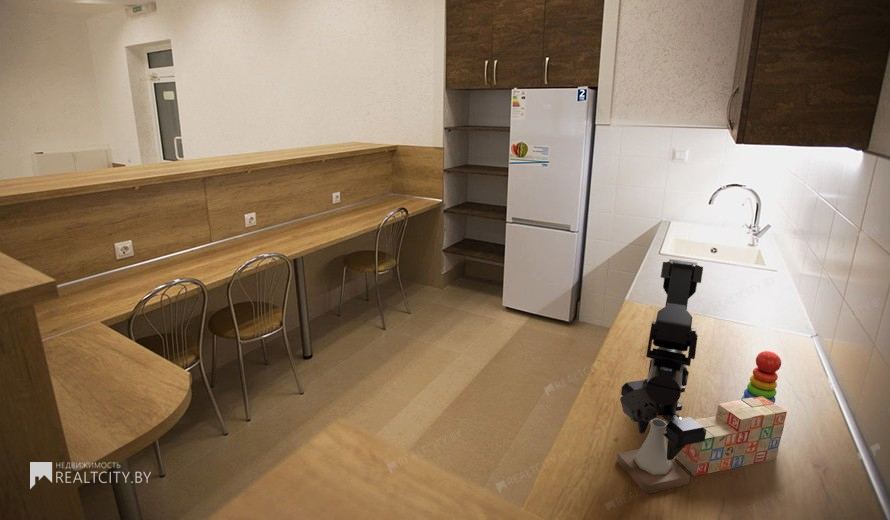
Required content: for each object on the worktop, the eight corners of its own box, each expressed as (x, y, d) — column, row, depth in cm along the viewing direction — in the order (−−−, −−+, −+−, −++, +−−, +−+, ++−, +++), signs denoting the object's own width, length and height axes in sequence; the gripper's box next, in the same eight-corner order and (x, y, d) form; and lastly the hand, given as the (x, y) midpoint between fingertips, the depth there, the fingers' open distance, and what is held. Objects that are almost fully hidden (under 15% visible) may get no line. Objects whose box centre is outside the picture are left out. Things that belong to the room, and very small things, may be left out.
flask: (626, 458, 107) (632, 417, 104) (652, 449, 110) (657, 409, 107) (653, 480, 101) (659, 437, 98) (679, 470, 104) (686, 428, 101)
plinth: (616, 461, 109) (617, 453, 109) (656, 453, 112) (657, 445, 111) (646, 493, 100) (647, 485, 100) (688, 484, 103) (689, 476, 102)
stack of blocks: (694, 477, 105) (703, 426, 101) (674, 458, 111) (682, 409, 107) (776, 459, 110) (788, 410, 107) (753, 441, 116) (763, 394, 112)
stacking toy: (738, 426, 121) (752, 356, 116) (732, 408, 129) (745, 341, 123) (776, 433, 119) (792, 362, 113) (768, 415, 126) (783, 347, 120)
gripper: (602, 361, 106) (596, 425, 111) (662, 411, 89) (651, 484, 93) (648, 355, 109) (639, 417, 114) (714, 402, 92) (701, 473, 96)
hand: (655, 445), depth 104 cm, fingers open, 8 cm apart
